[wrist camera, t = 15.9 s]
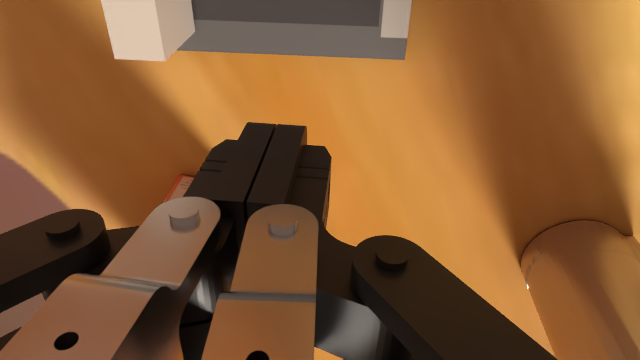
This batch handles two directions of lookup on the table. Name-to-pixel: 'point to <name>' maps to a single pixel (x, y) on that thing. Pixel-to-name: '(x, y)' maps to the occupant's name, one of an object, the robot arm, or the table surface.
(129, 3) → the handle
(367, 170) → the table surface
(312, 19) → the breaker panel
